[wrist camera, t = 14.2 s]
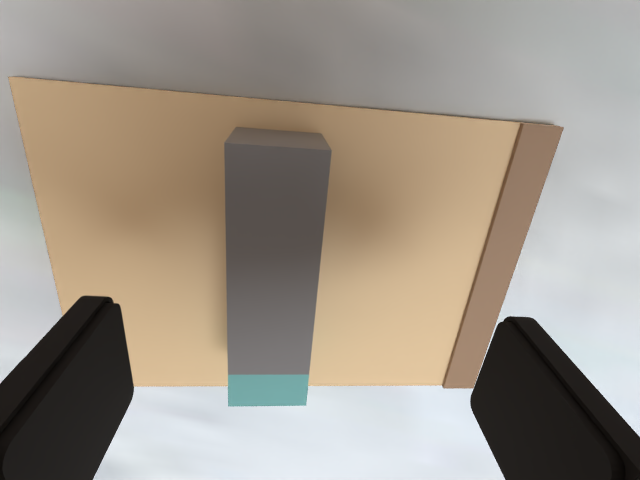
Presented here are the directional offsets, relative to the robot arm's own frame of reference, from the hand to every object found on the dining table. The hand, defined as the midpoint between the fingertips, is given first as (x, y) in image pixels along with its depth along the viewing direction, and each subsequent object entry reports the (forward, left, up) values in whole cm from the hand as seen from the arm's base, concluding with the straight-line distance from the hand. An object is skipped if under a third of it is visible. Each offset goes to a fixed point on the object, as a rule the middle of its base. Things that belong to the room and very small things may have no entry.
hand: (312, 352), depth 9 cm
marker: (+1, -1, -6) cm, 6 cm away
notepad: (+1, 0, -7) cm, 7 cm away
